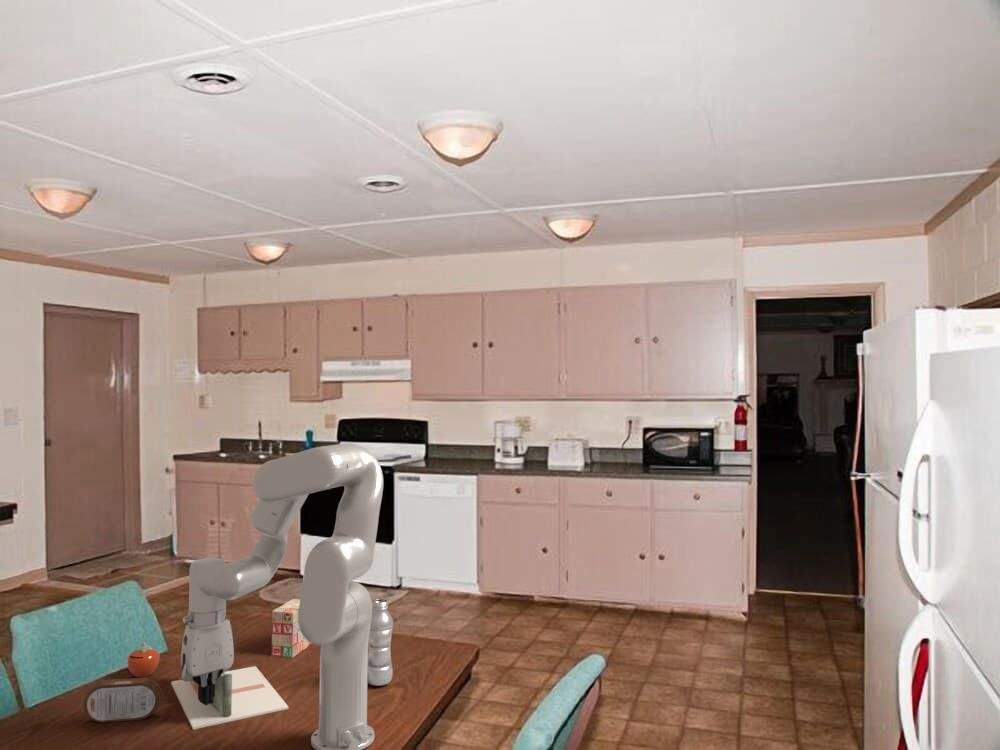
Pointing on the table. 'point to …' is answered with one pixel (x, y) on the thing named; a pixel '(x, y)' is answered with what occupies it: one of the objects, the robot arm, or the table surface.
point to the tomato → (143, 661)
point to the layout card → (247, 699)
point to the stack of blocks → (287, 631)
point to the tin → (122, 699)
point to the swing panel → (223, 694)
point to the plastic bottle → (380, 645)
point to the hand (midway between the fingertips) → (206, 702)
